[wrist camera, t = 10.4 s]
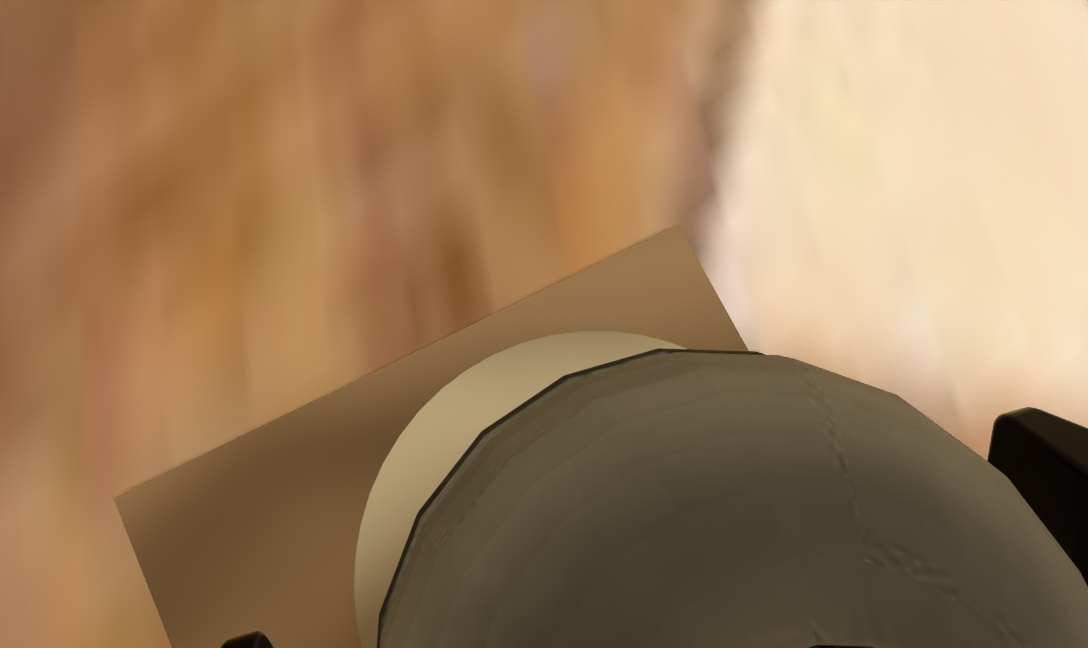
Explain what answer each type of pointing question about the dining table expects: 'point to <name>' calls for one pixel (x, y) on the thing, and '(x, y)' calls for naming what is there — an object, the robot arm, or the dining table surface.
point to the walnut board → (387, 457)
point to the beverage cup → (727, 522)
